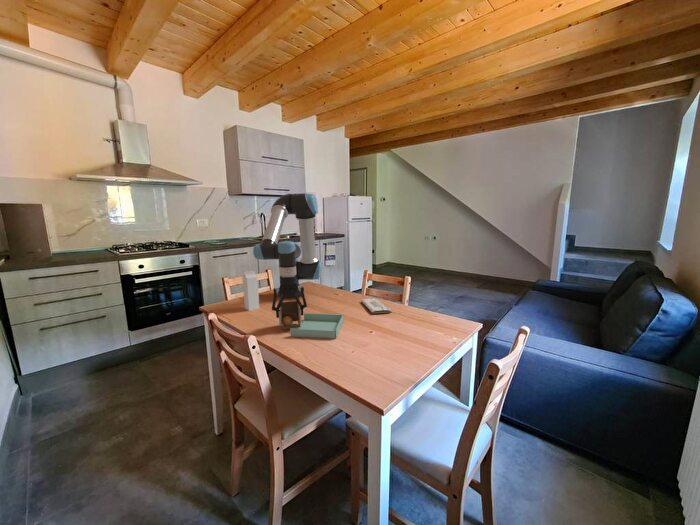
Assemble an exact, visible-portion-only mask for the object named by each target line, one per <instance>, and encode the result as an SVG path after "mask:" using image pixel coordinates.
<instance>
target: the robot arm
mask: <svg viewBox="0 0 700 525" xmlns="http://www.w3.org/2000/svg"><path fill="white" fill-rule="evenodd" d="M318 213H319V206H318V201H317V198H316V195H314V194H313V193H305V192H304V193H287V194H284V195H282V196H280V197H279V198H277V199H276V200H275V201H274V203H273V204H272V206H271V208H270V217H269V220H268V222H267V226H266V228H265V231H264V235H263V237H262V240H261V243H257V244H255V245H254V246H253V250H252V251H253V256H254V258H255V259H256V260H263V261H264V260H278V271H279V273H278V274H279V287H276V288H275V287H274V288H273V289H272V290H273V298H272V303H271V304H272V305H271V310H272V311H275V314H276V318H277V319H278V324H279V326H281V314H280V306H281V304H282V302H284V300H285V299H295V301H297V303H298V304H299V306H300V324H301V323H302V316H304V309H305V308H307V307H308V305H307V300H306V296H305V292H304V291H305V288H304V286H302V285H301V286H300V282H299V280H300V281H301V280H304V281H305V280H306V281H307V280H308V281H313V280H315V281H316V280H319V279H320V277H321V273H322V267H323V266H322V261H321V260H319V257H318V256H317V251H316V242H315V239H316V238H315V226H314V219H315V218H316V215H317V214H318ZM289 215H295V219H296V220H297V221H298V228H299V238H300V244H298V243H297V242H294V241H290V240H289V241H288V240H285V241H280V242H279V238H280V235H281V233H282V230H283V229H282V228H283V227H284V223H285V219H286V218H288V217H289ZM300 256H301V258H300V259H299V260H298V258H299V257H300ZM277 296H278V297H279V300H278V303H277ZM300 296H301V299H302V302H301V300H300V298H299V297H300ZM276 303H277V306H276ZM302 303H303V304H302Z"/></svg>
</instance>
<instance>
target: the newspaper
mask: <svg viewBox="0 0 700 525" xmlns="http://www.w3.org/2000/svg"><path fill="white" fill-rule="evenodd" d="M360 302H361V303H362V304H363V305H364V306H365V307H366V308H367V309H368V310H369V311H370V313H371V314H384V313H386V314H387V313H391V312H393V310H392V309H391V308H390V307H388V306H386V305H385V304H384V303H382V302H381V301H380V300H379V299H377V298H364V299H360Z"/></svg>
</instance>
